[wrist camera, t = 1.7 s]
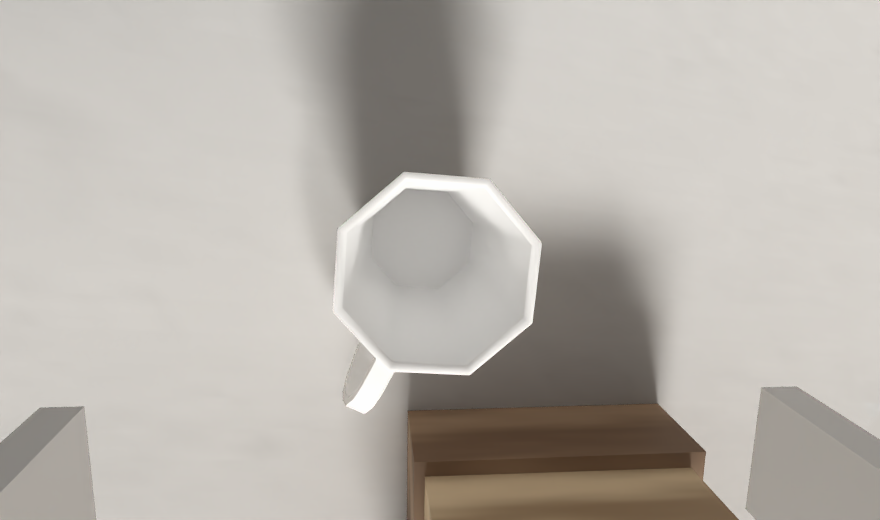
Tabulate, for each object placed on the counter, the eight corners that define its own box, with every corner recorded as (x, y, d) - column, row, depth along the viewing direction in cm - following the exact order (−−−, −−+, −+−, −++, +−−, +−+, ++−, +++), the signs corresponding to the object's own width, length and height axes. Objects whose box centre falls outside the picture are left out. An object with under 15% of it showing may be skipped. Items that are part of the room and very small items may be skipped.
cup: (527, 199, 29) (585, 229, 21) (423, 392, 30) (441, 488, 22) (383, 123, 28) (388, 125, 20) (281, 329, 29) (248, 407, 21)
